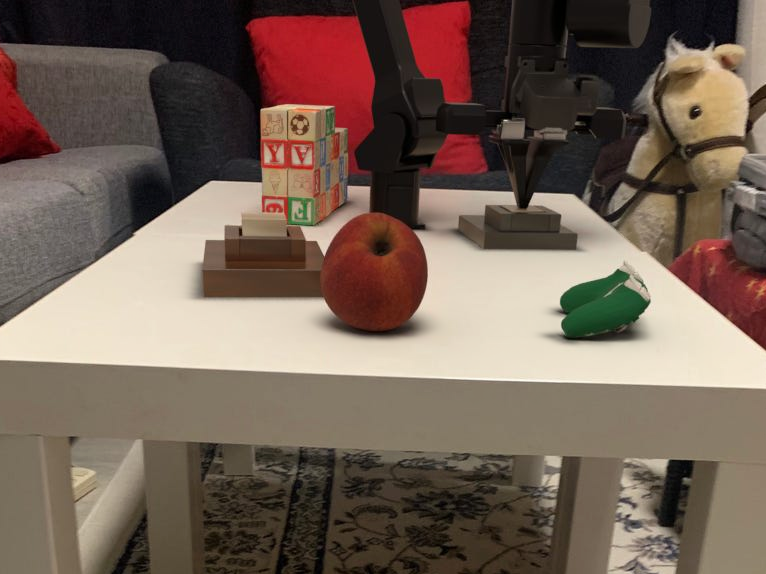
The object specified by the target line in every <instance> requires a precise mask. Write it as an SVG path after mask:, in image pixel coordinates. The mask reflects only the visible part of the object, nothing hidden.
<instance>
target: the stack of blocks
mask: <svg viewBox="0 0 766 574" xmlns="http://www.w3.org/2000/svg"><path fill="white" fill-rule="evenodd" d="M259 113H260V162H261V163H260V166H261V212H264V213H284V214H285V217H286V219H287V225H297V226H300V225H301V226H315V225H317V224H318V223H319V222H321V221H322V220H324V219H325V218H326V217H328V216H329V215H330V214H331V213H332V212H334V211H335V210H337V208H338V207H340V206H342V205H343V204H344V203H346V202H347V201H348V190H349V189H348V184H349V183H348V181H349V177H348V176H349V153H348V139H349V137H348V136H349V135H348V132H349V131H348V130H349V129H348V128H347V127H336V106H335V105H313V104H295V103H294V104H293V103H292V104H291V103H285V104H279V105H276V106H271V107H264V108H261V109H260V112H259Z"/></svg>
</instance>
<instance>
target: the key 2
mask: <svg viewBox="0 0 766 574" xmlns="http://www.w3.org/2000/svg"><path fill="white" fill-rule="evenodd" d="M502 209H504V210H506V211H508V212H537V213H544V211H543V210H541V209H539V208H536V207H534V206H533V205H532V206H528V208H527V209H520V208H518V207H517V206H502Z"/></svg>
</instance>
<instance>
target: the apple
mask: <svg viewBox="0 0 766 574" xmlns="http://www.w3.org/2000/svg"><path fill="white" fill-rule="evenodd" d="M428 270H429V267H428V260H427V254H426V252H425V248H424V246H423V243H422V242H421V239H420V238H419V236H418V235H417V233H416V232H415V231H414V230H413V229H412V228H409V227H408V226H407V225H405V224H404V223H403V222H401V221H400V220H398V219H395V218H393V217H391V216H389V215H386V214H383V213H369V212H366V213H361V214H359V215H356V216H355V217H353V218H352V219H350V220H349V221H347V222H346V223H345V224H344V225H343V226H341V228H340V229H339V230H338V231H337V232H336V234H335V235H334V237H333V238H332V240H331V241H330V243H329V244H328V246H327V249H326V251H325V254H324V260H323V264H322V268H321V278H320V281H321V289H322V294H323V297H322V298H323V299H324V301H325V303H326V305H327V307H328V308H329V310H330V311H331V312H332V313H333V314H334V315H335V316H336V317H337V318H338V319H340V320H341V321H343V322H344V323H345V324H347V325H349V326H350V327H352V328H355V329H359V330H361V331H367V332H385V331H391V330H393V329H396V328H398V327H400V326H402V325H403V324H405V323H406V322H407V321H409V319H411V318H412V317H413V316H414V314H415V313H416V312H417V311H418V309H419V307H420V306H421V304H422V302H423V299H424V297H425V294H426V290H427V285H428V277H429V271H428Z"/></svg>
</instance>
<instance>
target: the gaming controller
mask: <svg viewBox="0 0 766 574" xmlns="http://www.w3.org/2000/svg"><path fill="white" fill-rule="evenodd" d="M651 302H652V300H651V294H650V292H649V290H648V288H647V286H646V284H645V282H644V279H643V277H642V276H641V275H640V273H639V272H638V271H636V268H635V267H634V266H632V265H631V264H630V263H629V262H627V260H623V264H622V265H621V266H620V267H619V268H616V270H615V271H614V272H613V273H611V274H610V275H607V276H605V277H601V278H598V279H594V280H593V279H592V280H590V281H585V282H582V283H578V284H575V285H573V286H571V287H570V288H568V289H567V290H566V291H564V292H563V293H562V295H561V296H560V298H559V305H560V308H561V309H562V310H563V312H566V313H567V314H566V316H565V317H563V318H562V320H561V322H560V327H561V330H562V331H563V333H564V334H565V337H567V338H568V339H572V338H573V339H574V338H581V337H582V338H583V337H590V336H596V335H599V334H603V333H607V332H608V333H609V332H614V333H616V334H620V333H622V332H623V331H624V330H625V329H627V327H628V326H629V325H630V324H631V323H636V322H637V321H638V320H640V316H641V315H642V314H644V313H645V312H646V310H647V309H648V307H649V306H650V304H651Z"/></svg>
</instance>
